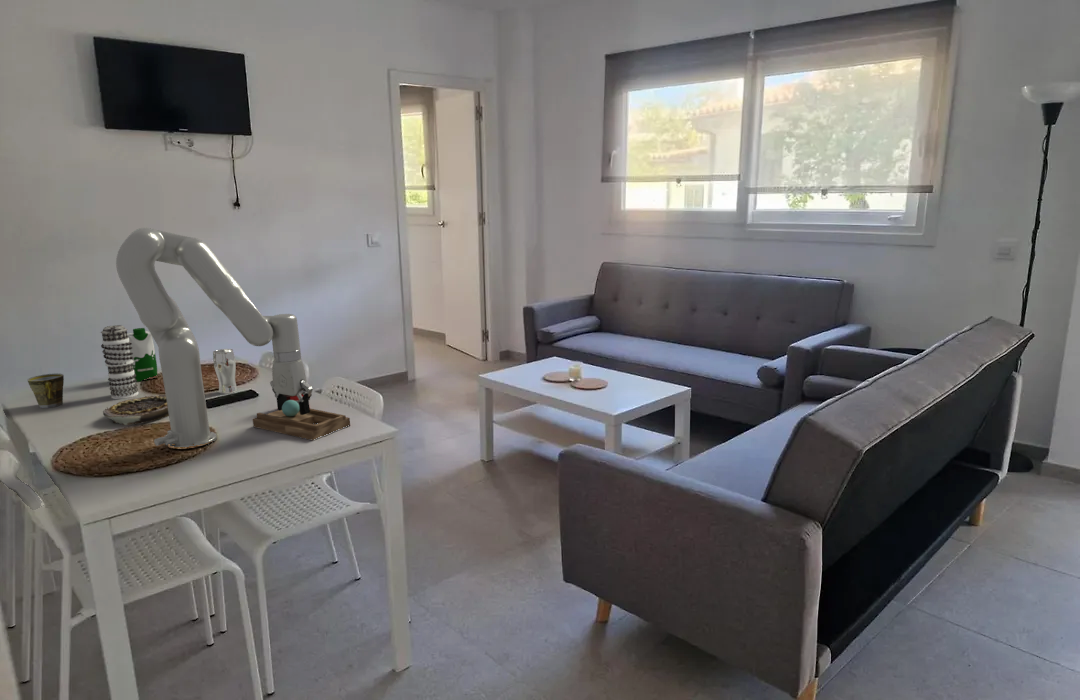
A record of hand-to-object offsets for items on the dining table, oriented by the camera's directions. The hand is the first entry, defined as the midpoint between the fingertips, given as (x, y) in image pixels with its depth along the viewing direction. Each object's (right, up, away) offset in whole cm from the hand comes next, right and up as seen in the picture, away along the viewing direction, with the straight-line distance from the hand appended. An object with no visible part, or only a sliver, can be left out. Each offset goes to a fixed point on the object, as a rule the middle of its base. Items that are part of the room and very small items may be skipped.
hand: (293, 411), depth 203 cm
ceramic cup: (-92, -1, +27) cm, 96 cm away
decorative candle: (-73, +2, +37) cm, 82 cm away
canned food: (-6, -1, +18) cm, 19 cm away
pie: (-53, -3, +14) cm, 55 cm away
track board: (+3, -4, -1) cm, 5 cm away
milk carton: (-79, +7, +60) cm, 100 cm away
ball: (-1, +1, +1) cm, 2 cm away
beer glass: (-37, +3, +39) cm, 54 cm away
